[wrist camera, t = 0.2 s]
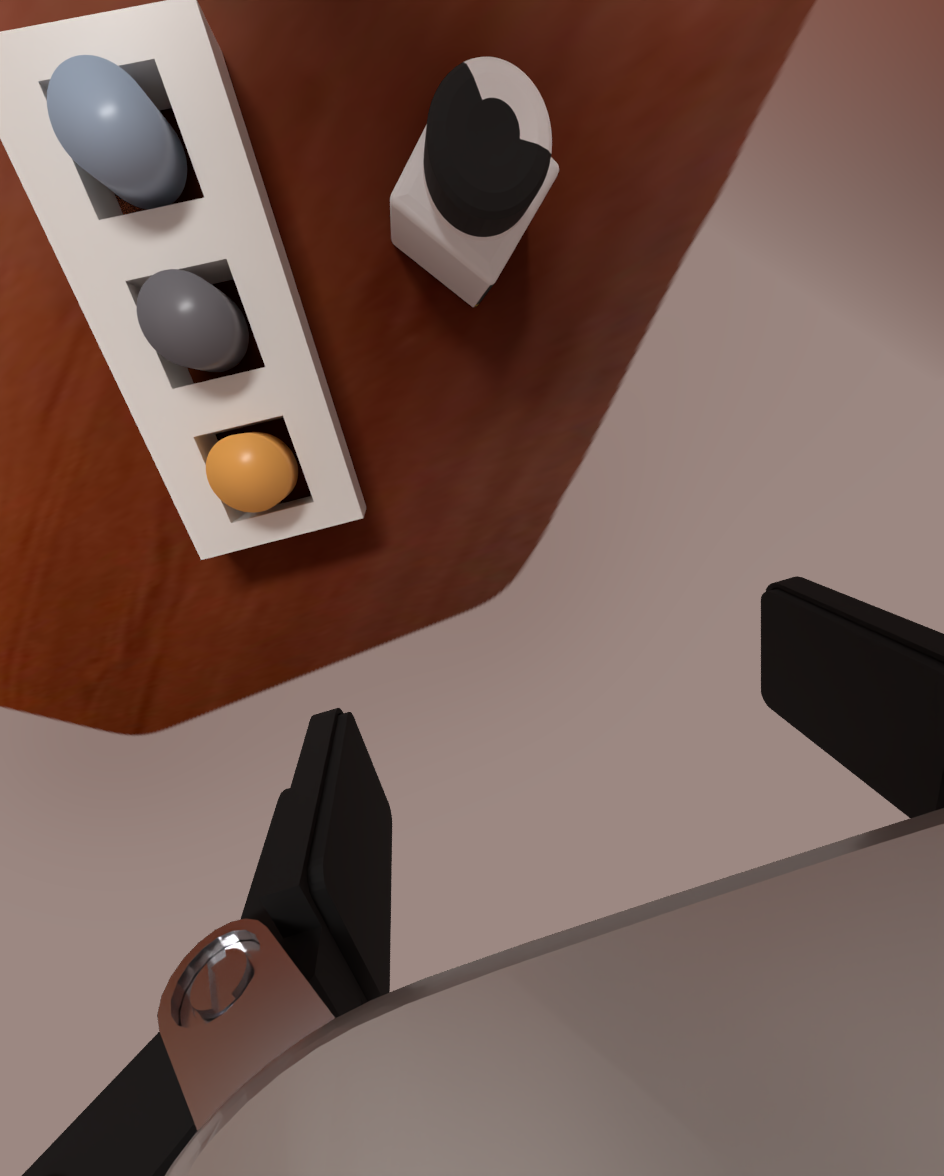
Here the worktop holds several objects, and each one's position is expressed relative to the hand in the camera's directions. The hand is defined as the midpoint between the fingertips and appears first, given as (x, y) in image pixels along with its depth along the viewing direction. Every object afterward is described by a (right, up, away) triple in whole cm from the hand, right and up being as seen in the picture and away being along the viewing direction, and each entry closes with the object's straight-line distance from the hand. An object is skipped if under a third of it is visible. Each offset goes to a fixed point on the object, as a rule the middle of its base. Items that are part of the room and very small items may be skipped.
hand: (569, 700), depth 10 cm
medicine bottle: (-3, +28, +22) cm, 36 cm away
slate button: (-21, +27, +17) cm, 38 cm away
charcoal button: (-19, +19, +20) cm, 34 cm away
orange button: (-17, +11, +23) cm, 31 cm away
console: (-20, +20, +22) cm, 36 cm away
